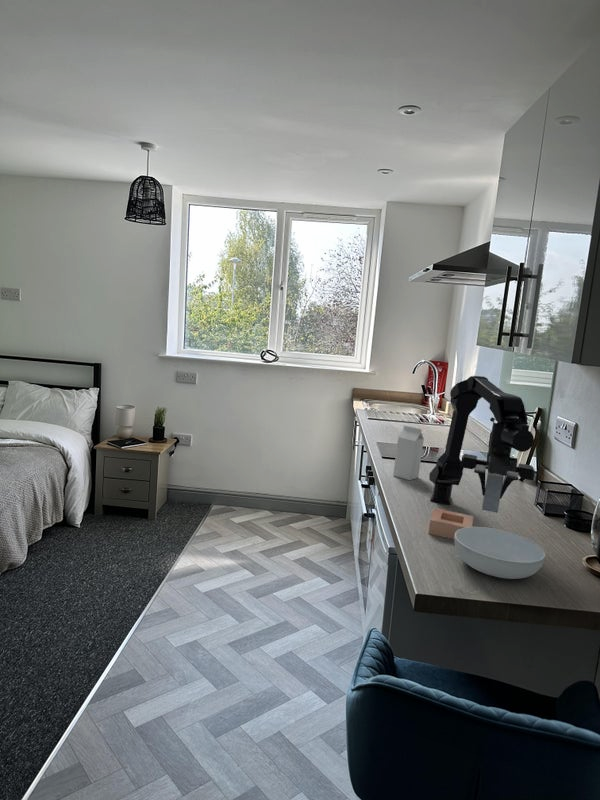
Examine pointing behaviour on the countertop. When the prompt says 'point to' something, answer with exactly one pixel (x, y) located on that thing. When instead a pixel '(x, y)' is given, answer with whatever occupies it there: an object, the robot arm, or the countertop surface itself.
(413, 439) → the milk carton
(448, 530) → the orange square socket block
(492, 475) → the tall grey square pillar
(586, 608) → the countertop surface
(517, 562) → the serving bowl
